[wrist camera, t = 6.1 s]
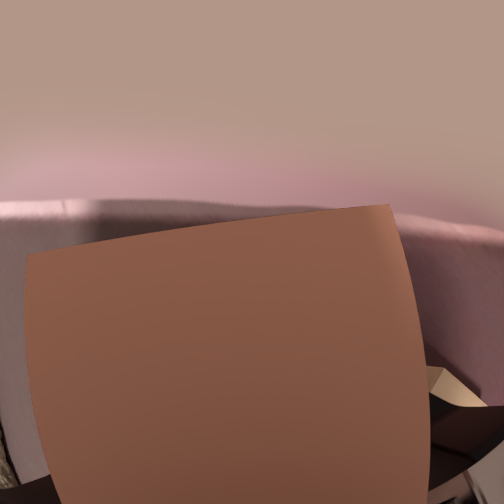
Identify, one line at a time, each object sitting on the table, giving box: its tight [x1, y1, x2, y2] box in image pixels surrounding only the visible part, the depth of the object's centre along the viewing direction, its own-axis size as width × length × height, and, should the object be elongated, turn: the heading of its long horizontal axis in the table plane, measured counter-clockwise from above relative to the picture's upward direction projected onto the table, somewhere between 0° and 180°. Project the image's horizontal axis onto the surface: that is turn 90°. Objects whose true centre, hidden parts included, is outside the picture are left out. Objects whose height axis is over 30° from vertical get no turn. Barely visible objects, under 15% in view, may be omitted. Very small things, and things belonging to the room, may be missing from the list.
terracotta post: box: [24, 204, 430, 504], centre depth 9 cm, size 6×6×14 cm
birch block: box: [426, 366, 487, 407], centre depth 15 cm, size 10×10×3 cm
